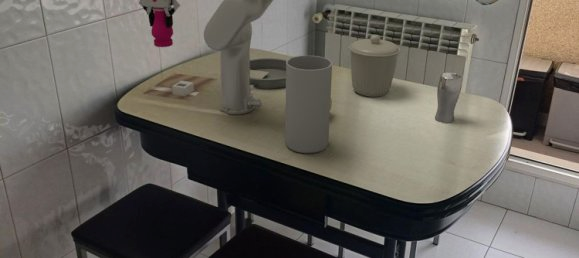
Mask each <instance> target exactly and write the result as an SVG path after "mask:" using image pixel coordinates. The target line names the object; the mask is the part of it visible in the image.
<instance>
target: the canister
mask: <svg viewBox="0 0 579 258" xmlns="http://www.w3.org/2000/svg"><path fill="white" fill-rule="evenodd" d="M348 49H349V50H348V51H350V53H349V54H350V55H349V56H350V73H351V74H350V75H351V76H350V77H351V85H352V89H353V91H354V92H356V93H357V94H358V95H359V94H360V95H361V96H366V97H382V96H385V95H386V94H388V92H389V91H390V89H391V88H392V83H393V80H394V75H395V72H396V71H395V70H396V67H397V62H398V56H399V54H400V53H401V51H402V50H401V48H400V47H399V45H397V44H396V43H394V42H392V41H389V40H386V39H381V36H380V35H379V34H372V35H371V36H370V38H364V39H359V40H356V41H354V42H352V43H350V44H349V45H348Z"/></svg>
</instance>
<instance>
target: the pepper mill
mask: <svg viewBox="0 0 579 258" xmlns="http://www.w3.org/2000/svg"><path fill="white" fill-rule="evenodd" d="M156 1H157V0H153V2H156ZM153 10H154V13H155V19H154V23H153V26H152V27H151V29H150V31H151V35H152V37H153V38H154V40H153V44H154V45H153V46H155V47H157V48H167V47H168V48H169V47H172V46H173V43H174V42H173V41H174V40H173V38H172V37H173V35H174V28H173V26H172V27H170V28H166V21H165V16H167V15H166V12H165V10H164V8H156V7H153Z"/></svg>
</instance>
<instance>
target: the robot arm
mask: <svg viewBox="0 0 579 258" xmlns="http://www.w3.org/2000/svg"><path fill="white" fill-rule="evenodd" d="M273 1H274V0H222V1H221V3H220V4H219V6H218V7H217V9H216V10H215V12H214V13H212V16H211V18H210V19H209V20H208V22H207V23H206V25H205V26H204V31H203V38H204V42H205V44H206V46H207V47H208V48H209V49H211V50H212V51H215V52H220V53H219V55H220V56H219V61H220V63H219V64H220V65H219V66H220V68H219V69H220V85H221V88H220V89H221V91H220V92H221V105H222V107H224V108H226V109H227V110H221V109H219V111H220V112H221V113H223V114H229V115H242V114H243V115H245V114H248V113H250V112H252V111H253V110H255V108H262V106H263V105H262V104H263V103H262V100H261V98H255V97H254V93H251V83H250V77H251V70H250V60H251V56H250V55H251V52H250V51H251V41H252V35H253V27H252V22H255V21H257V20H259V19H260V18H261V17H263V16H264V13H265V12H266V11H267V10H268V8H269V7H270V6H271V4H272V2H273ZM138 4H139V5H140V6H141V7H142V9H143V10H144V11H145V12H146V15H148V22H149V27H151V28H152V26H153V23H154V19H155V13H154V10H153V7H156V8H164V10H165V12H166V15H167V16H165V21H166V28H170V27H172V28H173V25H174V20H173V19H174V18H173V15H174V14H175V12H176V11H177V10H178V9H180V7H181V4H180V3H179V2H178V0H157V1H156V2H153V0H139V1H138Z"/></svg>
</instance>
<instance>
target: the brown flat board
mask: <svg viewBox="0 0 579 258" xmlns="http://www.w3.org/2000/svg"><path fill="white" fill-rule="evenodd" d="M216 80H218V78H213V77H205V76H197V75H191V74H181V73H172V74H171V75H169V76H168V77H166V78H164V79H163V80H162V81H159V82H158V83H156V84H155V85H154V86H152V87H151V88H149V89H147V90H146V91H144V92H142V94H144V95H149V96H156V97H162V98H163V97H164V98H171V99H177V100H184V101H190V100H192V99H193V98H195V97H197V95H198V94H199V93H201V92H203V90H205V89H206V88H207V87H208V86H210V85H211V84H213V83H214V82H216ZM180 81H187V82H193V83H194V91H193V92H191V93H190V94H188V95H186V96H180V95H174V94H173V93H172V86H173V85H175V84H176V83H178V82H180Z"/></svg>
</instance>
